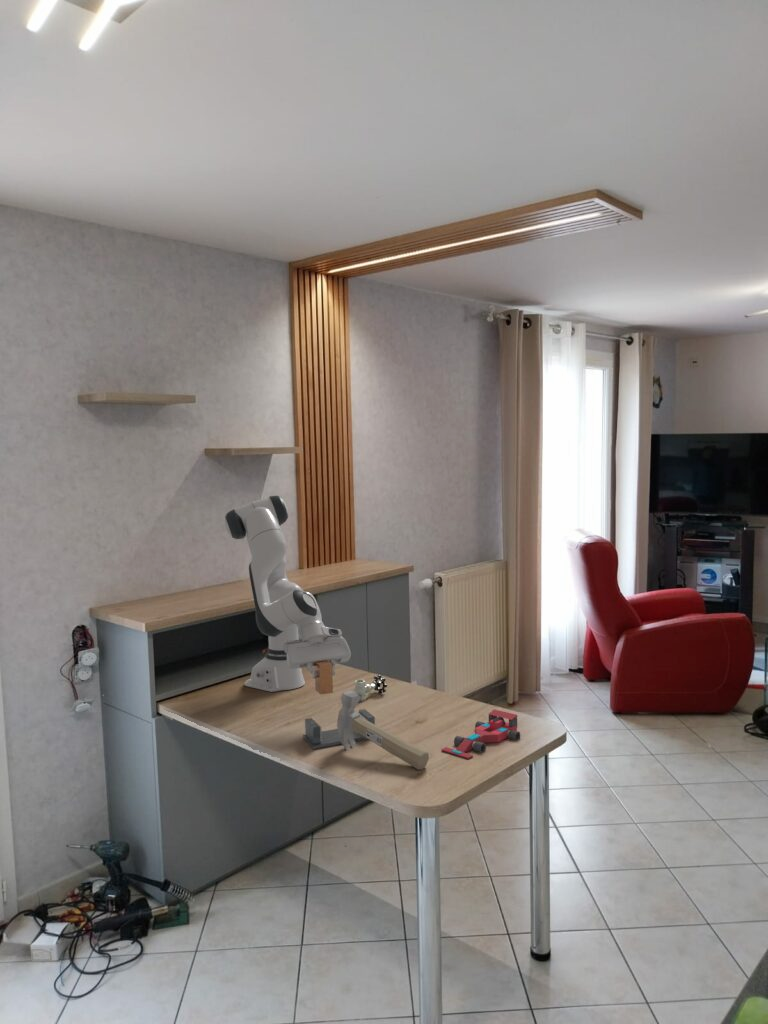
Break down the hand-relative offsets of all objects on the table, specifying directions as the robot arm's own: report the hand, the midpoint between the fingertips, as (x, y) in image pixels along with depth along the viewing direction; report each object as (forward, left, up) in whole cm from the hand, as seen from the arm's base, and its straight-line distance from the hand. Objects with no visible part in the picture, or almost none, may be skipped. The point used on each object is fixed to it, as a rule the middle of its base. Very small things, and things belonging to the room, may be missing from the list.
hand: (324, 676), depth 236 cm
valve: (-1, +30, -16) cm, 34 cm away
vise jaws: (+9, -7, -16) cm, 20 cm away
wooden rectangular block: (0, 0, -5) cm, 5 cm away
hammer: (+27, -15, -16) cm, 35 cm away
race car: (+49, +6, -17) cm, 52 cm away
